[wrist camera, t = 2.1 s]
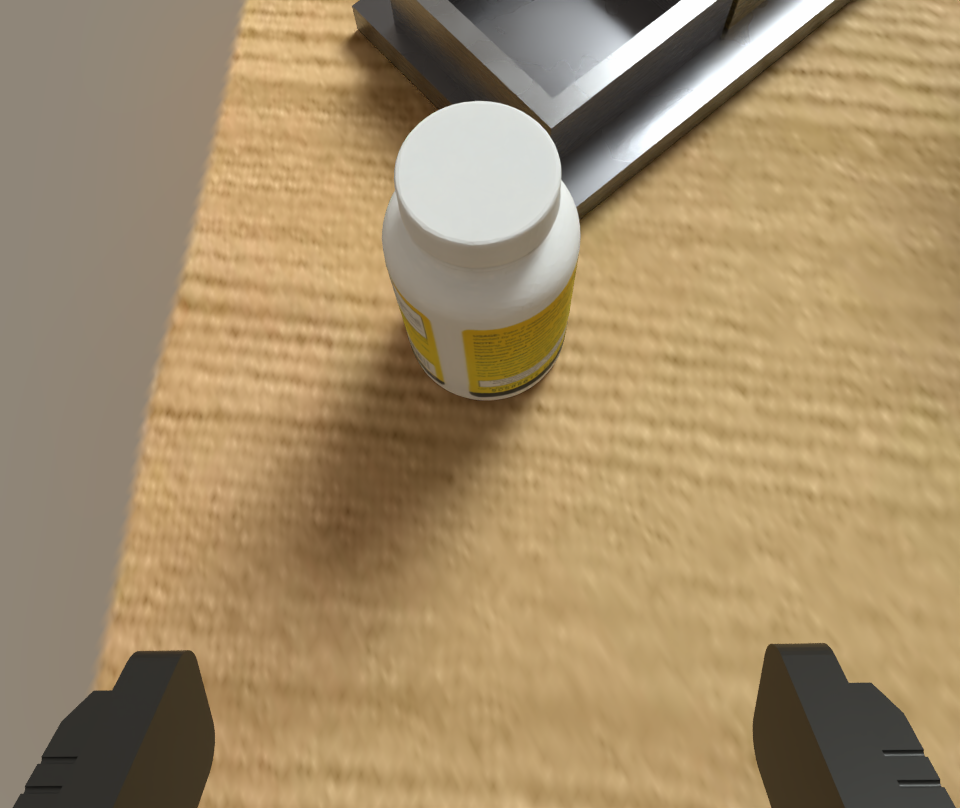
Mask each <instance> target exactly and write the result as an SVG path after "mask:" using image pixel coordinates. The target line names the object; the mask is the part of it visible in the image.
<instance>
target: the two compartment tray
mask: <svg viewBox="0 0 960 808" xmlns="http://www.w3.org/2000/svg"><path fill="white" fill-rule="evenodd" d="M850 1H851V0H360V1H358V2H357V3H355V4H354V5H353V6H352V8H353V12H354V16H355V20H356V25H357V29H358V30H359V31H360V32H361V33H362V34H363V35H364V36H365V37H366V38H367V39H368V40H369V41H370V42H371V43H372V44H373V45H374V46H375V47H376V48H377V49H378V50H380V51H381V52H382V53H383V54H384V55H385V56H386V57H387V58H388V59H389V60H390V61H391V62H392V63H393V64H394V65H395V66H396V67H397V68H398V69H399V70H400V71H401V72H402V73H403V74H404V75H405V76H406V77H407V78H408V79H409V80H410V81H411V82H412V83H413V84H414V85H415V86H416V87H417V88H418V89H419V90H420V91H421V92H422V93H423V94H424V95H425V96H426V97H427V98H428V99H429V100H430V101H431V102H432V103H433V104H434V105H435V106H436V107H437V108H438V109H439V110H440V109H442V108H445V107H448V106H451V105H454V104H458V103H463V102H472V101H488V102H496V103H501V104H504V105H508V106H511V107H514V108H516V109H518V110H520V111H522V112H524V113H525V114H527V115H529V116H530V117H532V118H533V119H534V120H535V121H537V122H538V123H539V124H540V125H541V126H542V127H543V128H544V129H545V130H546V132H547V133H548V134H549V136H550V137H551V139H552V141H553V142H554V144H555V146H556V149H557V151H558V155H559V158H560V163H561V180H562V181H563V183H564V184H565V186H566V187H567V189H568V190H569V192H570V194H571V196H572V198H573V200H574V203H575V206H576V209H577V212H578V217H579V220H580V219H581V218H582V217H583V216H584V215H586V214H587V213H588V212H589V211H591V210H592V209H593V208H594V207H596V206H597V205H598V204H599V203H601V202H602V201H603V200H604V199H606V198H607V197H608V196H609V195H611V194H612V193H613V192H614V191H615V190H617V189H618V188H619V187H620V186H622V185H623V184H624V183H625V182H627V181H628V180H629V179H630V178H632V177H633V176H634V175H635V174H637V173H638V172H639V171H640V170H642V169H643V168H644V167H645V166H646V165H648V164H649V163H650V162H651V161H653V160H654V159H655V158H656V157H658V156H659V155H660V154H661V153H663V152H664V151H665V150H666V149H668V148H669V147H670V146H671V145H673V144H674V143H675V142H676V141H677V140H679V139H680V138H681V137H682V136H684V135H685V134H686V133H687V132H689V131H690V130H691V129H692V128H694V127H695V126H696V125H697V124H699V123H700V122H701V121H702V120H704V119H705V118H706V117H707V116H708V115H710V114H711V113H712V112H713V111H715V110H716V109H717V108H718V107H720V106H721V105H722V104H723V103H725V102H726V101H727V100H728V99H730V98H731V97H732V96H733V95H734V94H736V93H737V92H738V91H739V90H741V89H742V88H743V87H744V86H746V85H747V84H748V83H749V82H751V81H752V80H753V79H754V78H756V77H757V76H758V75H759V74H761V73H762V72H763V71H764V70H765V69H767V68H768V67H769V66H770V65H772V64H773V63H774V62H775V61H777V60H778V59H779V58H780V57H782V56H783V55H784V54H785V53H787V52H788V51H789V50H790V49H792V48H793V47H794V46H795V45H796V44H798V43H799V42H800V41H801V40H803V39H804V38H805V37H806V36H808V35H809V34H810V33H811V32H813V31H814V30H815V29H816V28H818V27H819V26H820V25H821V24H823V23H824V22H825V21H826V20H827V19H829V18H830V17H831V16H832V15H834V14H835V13H836V12H837V11H839V10H840V9H841V8H842V7H844V6H845V5H846V4H847V3H849V2H850Z"/></svg>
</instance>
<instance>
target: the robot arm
mask: <svg viewBox="0 0 960 808" xmlns="http://www.w3.org/2000/svg"><path fill="white" fill-rule="evenodd" d="M753 742H754V750H755V756H756V761H757V765H758V768H759V771H760V774H761V777H762V780H763V783H764V786H765V789H766V792H767V795H768V798H769V801H770V804H771V807H772V808H956V807H955V806H954V804H953V802H952V800H951V798H950V797H949V795H948V793H947V791H946V789H945V787H941V784H940V778H939V777H938V775H937V773H936V771H935V769H934V767H933V766H932V764H931V762H930V760H929V758H928V757H925V756H924V752H923V751H924V749H923V747H922V746H921V744H920V742H919V740H918V738H917V737H916V735H915V733H914V731H913V729H912V727H911V726H910V724H909V722H908V720H907V718H906V717H905V715H904V713H903V712H902V711H901V710H900V709H899V708H897V707H896V706H895V705H894V704H893V703H892V702H891V701H890V700H889V699H888V698H887V697H886V696H885V695H884V694H883V693H882V692H881V691H879V690H878V689H877V688H876V687H875V686H874V685H873V684H872V683H848V681H847V679H846V677H845V675H844V673H843V671H842V669H841V667H840V665H839V663H838V661H837V658H836V656H835V655H834V653H833V651H832V649H831V648H830V647H829V646H828V645H827V644H825V643H809V644H770V645H769V646H768V647H767V649H766V652H765V657H764V662H763V668H762V673H761V679H760V684H759V690H758V696H757V701H756V707H755V712H754V718H753ZM214 746H215V730H214V724H213V719H212V715H211V712H210V708H209V704H208V700H207V696H206V693H205V689H204V685H203V681H202V677H201V674H200V670H199V666H198V662H197V659H196V656H195V654H194V653H193V652H192V651H190V650H185V651H137V652H135V653H134V654H133V655H132V656H131V657H130V658H129V660H128V661H127V663H126V665H125V667H124V669H123V671H122V673H121V675H120V677H119V679H118V681H117V682H116V684H115V686H114V688H113V690H112V691H93V692H92V693H91V694H90V695H89V696H88V697H87V698H86V699H85V700H84V701H83V702H81V703H80V704H79V705H78V706H77V707H76V708H75V709H74V710H73V711H72V712H71V713H70V714H69V715H68V716H67V717H66V718H65V719H64V720H63V721H62V722H61V723H60V725H59V727H58V729H57V731H56V732H55V734H54V736H53V738H52V739H51V741H50V743H49V745H48V747H47V748H46V750H45V752H44V754H43V755H42V761H41V764H37V766H36V768H35V769H34V771H33V773H32V775H31V777H30V778H29V780H28V782H27V784H26V785H25V792H24V794H20V796H19V798H18V800H17V801H16V803H15V805H14V807H13V808H197V807H198V805H199V802H200V799H201V796H202V793H203V790H204V787H205V784H206V781H207V779H208V776H209V773H210V769H211V766H212V761H213V755H214Z"/></svg>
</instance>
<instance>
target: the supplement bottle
mask: <svg viewBox="0 0 960 808" xmlns="http://www.w3.org/2000/svg"><path fill="white" fill-rule="evenodd" d="M394 183H395V192H394V193H393V195H392V197H391V199H390V201H389V204H388V207H387V210H386V214H385V217H384V222H383V230H382V243H383V251H384V256H385V263H386V267H387V270H388V273H389V276H390V279H391V282H392V285H393V288H394V292H395V295H396V298H397V301H398V305H399V308H400V311H401V314H402V318H403V321H404V324H405V328H406V331H407V334H408V338H409V341H410V344H411V347H412V350H413V352H414V354H415V356H416V358H417V360H418V362H419V364H420V365H421V367H422V368H423V370H424V371H425V372H426V373H427V375H428V376H429V377H430V378H431V379H432V380H433V381H435V382H436V383H437V384H438V385H440V386H441V387H442V388H444V389H446V390H447V391H449V392H451V393H454V394H456V395H458V396H462V397H465V398H469V399H474V400H498V399H504V398H508V397H512V396H515V395H517V394H520V393H522V392H524V391H526V390H527V389H529V388H531V387H532V386H534V385H535V384H536V383H538V382H539V381H540V380H541V379H542V378H543V377H544V376H545V375H546V374H547V373H548V372H549V370H550V369H551V368H552V366H553V365H554V363H555V361H556V360H557V358H558V356H559V353H560V351H561V348H562V345H563V341H564V338H565V333H566V328H567V323H568V317H569V311H570V305H571V298H572V292H573V286H574V280H575V273H576V268H577V262H578V256H579V249H580V223H579V217H578V212H577V209H576V206H575V203H574V200H573V198H572V196H571V194H570V192H569V190H568V189H567V187H566V186H565V184H564V183H563V181H562V180H561V163H560V158H559V155H558V151H557V149H556V146H555V144H554V142H553V141H552V139H551V137H550V136H549V134H548V133H547V132H546V130H545V129H544V128H543V127H542V126H541V125H540V124H539V123H538V122H537V121H535V120H534V119H533V118H532V117H530V116H529V115H527V114H525V113H524V112H522V111H520V110H518V109H516V108H514V107H511V106H508V105H504V104H501V103H496V102H488V101H472V102H463V103H458V104H454V105H451V106H448V107H445V108H442V109H440V110H438V111H436V112H434V113H432V114H431V115H429V116H428V117H426V118H425V119H424V120H422V121H421V122H420V123H419V124H418V125H417V126H416V127H415V128H414V129H413V130H412V131H411V132H410V133H409V135H408V136H407V138H406V139H405V141H404V142H403V144H402V146H401V148H400V150H399V153H398V156H397V159H396V164H395V170H394Z"/></svg>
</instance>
